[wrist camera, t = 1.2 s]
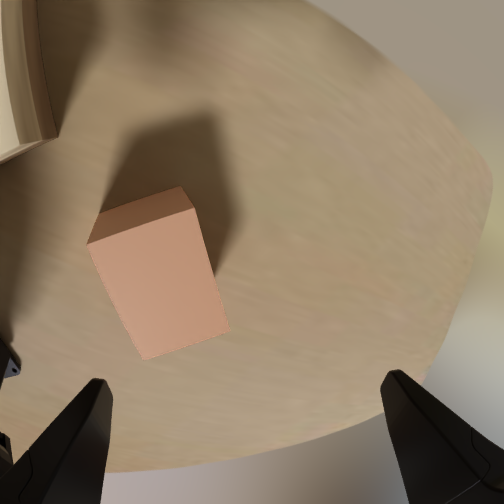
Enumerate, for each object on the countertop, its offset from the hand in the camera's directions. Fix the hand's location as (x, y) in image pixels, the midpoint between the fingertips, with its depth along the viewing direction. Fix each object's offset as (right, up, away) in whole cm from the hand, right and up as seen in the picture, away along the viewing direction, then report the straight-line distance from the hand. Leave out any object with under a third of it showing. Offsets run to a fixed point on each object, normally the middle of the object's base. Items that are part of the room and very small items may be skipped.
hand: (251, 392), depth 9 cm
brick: (-6, +4, +10) cm, 12 cm away
